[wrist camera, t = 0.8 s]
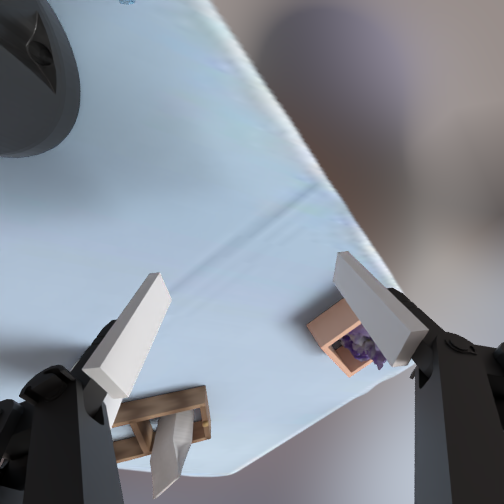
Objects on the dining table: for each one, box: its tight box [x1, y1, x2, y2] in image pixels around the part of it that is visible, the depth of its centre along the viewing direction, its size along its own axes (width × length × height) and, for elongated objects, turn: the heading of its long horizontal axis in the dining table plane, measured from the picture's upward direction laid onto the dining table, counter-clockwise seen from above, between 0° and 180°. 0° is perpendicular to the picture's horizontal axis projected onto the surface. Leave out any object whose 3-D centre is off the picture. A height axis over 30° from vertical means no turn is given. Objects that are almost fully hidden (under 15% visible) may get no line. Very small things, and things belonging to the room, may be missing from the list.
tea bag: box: [150, 409, 194, 499], centre depth 32 cm, size 4×7×10 cm, turn 137°
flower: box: [340, 323, 387, 370], centre depth 34 cm, size 9×9×10 cm
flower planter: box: [306, 298, 373, 377], centre depth 35 cm, size 13×14×5 cm
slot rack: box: [112, 386, 211, 463], centre depth 34 cm, size 24×12×3 cm, turn 89°
